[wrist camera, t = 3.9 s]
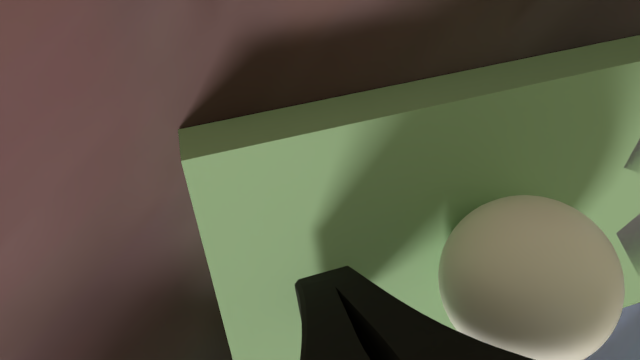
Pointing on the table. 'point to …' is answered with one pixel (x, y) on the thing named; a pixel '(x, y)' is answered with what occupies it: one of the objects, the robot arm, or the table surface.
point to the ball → (532, 279)
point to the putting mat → (408, 180)
